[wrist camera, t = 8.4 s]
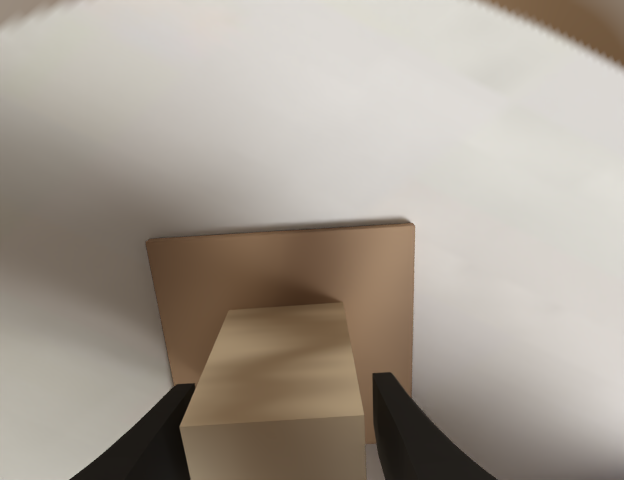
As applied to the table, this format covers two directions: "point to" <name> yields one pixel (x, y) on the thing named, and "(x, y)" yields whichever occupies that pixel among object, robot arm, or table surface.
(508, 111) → the table surface
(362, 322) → the walnut pad
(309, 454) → the birch block
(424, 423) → the robot arm
